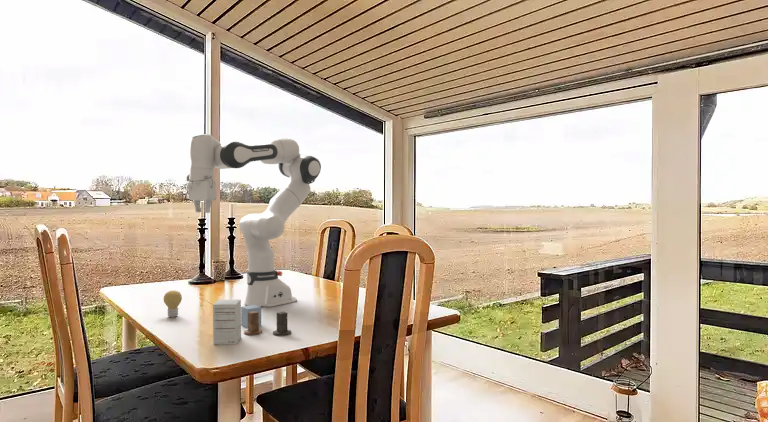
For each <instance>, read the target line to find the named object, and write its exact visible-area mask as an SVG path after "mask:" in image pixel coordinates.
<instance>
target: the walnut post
mask: <svg viewBox="0 0 768 422" xmlns="http://www.w3.org/2000/svg"><path fill="white" fill-rule="evenodd" d="M243 334H244V335H245V336H258V335H261V334H263V329H261V328H260V327H259V312H256V311H252V312H248V328H247V329H245V330H244V331H243Z"/></svg>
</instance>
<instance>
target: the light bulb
mask: <svg viewBox="0 0 768 422" xmlns="http://www.w3.org/2000/svg"><path fill="white" fill-rule="evenodd" d="M182 298H183V297H182V293H181V292H180V291H178V290H175V289H174V290H169V291H167V292H166V293H165V294H164V295H163V303H164V304H165V306H167V317H169V318H175V317H177V316H178V315H179V306H180V304H181V302H182V300H183V299H182Z"/></svg>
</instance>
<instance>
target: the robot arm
mask: <svg viewBox="0 0 768 422" xmlns="http://www.w3.org/2000/svg"><path fill="white" fill-rule="evenodd" d="M188 155H189V156H188V157H189V161H190V165H189V171H188V175H187V176H186V182H188V183H187V190H188V198H189V201H193V206H194V209H195V210H194V211H195V213H201V212H202V207H201V201H204V208H203V210H204V211H203V212H204V213H205V214H210V213H211V207H212V201H216V200H217V184H216V181H215V168H216V169H219V170H223V169H241V168H243V167H245V166H246V165H247V164H249V163H251V162H252V163H253V162H259V161H260V162H261V163H263V164H265V165H278V169H279V172H280V174H281V175H282V176H285V177H287V178H289V181H288V182H287V184H286V185H284V186H283V187H282V188H281V189H280V190H279V191H277V192H276V194H275V195H273V196H272V198H271V199H270V200H269V203H268V206H267V208H266V209H265V210H264V211H262V212H261V213H256V212H255V213H248V214H247V215H244V216H243V217H242V218H241V219H240V221H239V224H238V227H239V231H240V232H241V234H242V236H243V238H244V241H245V246H246V247H245V248H246V250H247V251H246V252H247V269H248V270H247V272H246V284H247V287H246V290H247V291H246V296H245V300H244V304H243V305H244V306H249V305H257V306H260V307H269V308H270V307H271V308H272V307H276V306H281V305H286V304H291V303H296V302H297V301H298V300H297V299H298V298H297V297H295V296H292V295H293V294H292V289H291V287H290V286H289V285H288V284H286V283H285V282H284V281H282V279H279V277H282V275H283V272H282V271H281V270H278V271H277V270H276V269H275V252H274V250H273V249H272V247H271V245H270V244H271V243H270V241H271V240H274V239H278V238H280V237H281V236H282V235H283V233H284V231H285V224H286V222H287V220H288V219H289V218H290V216H291V215H292V214H293V213H294V212H295V211H296V210H297V209H298V208H299V207H300V206H301V205H302V203H304V202H305V200H306V199H307V197H308V196H309V194H310V192H311V185H310V184H313V183H314V182H315V181H316V179H317V178H318V177H319V175H320V173H321V170H322V169H321V168H322V165H321V162H320V160H319V159H318V158H316V157H315V156H312V155H306V154H301V153H300V146H299V144H298V142H297V141H296V140H294V139H291V138H287V137H285V138H284V137H274V138H268V139H264V140H262V141H260V142H259V143H258V144H256V145H255V144H253V145H247V144H245V143H243V142H239V141H231V142H227V143H223V142H221V141H219V140H217V139H216V138H214V137H213V135H212V134H209V133H205V134H204V133H203V134H196V135H193V136H191V138H190V141H189V153H188Z"/></svg>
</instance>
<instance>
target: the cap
mask: <svg viewBox="0 0 768 422" xmlns="http://www.w3.org/2000/svg"><path fill="white" fill-rule="evenodd" d="M252 311H256V312H259V326H262V306H257V305H249V306H248V305H243V306H242V305H241V327H242V326H243V327H245V328H247V329H248V312H252Z"/></svg>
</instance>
